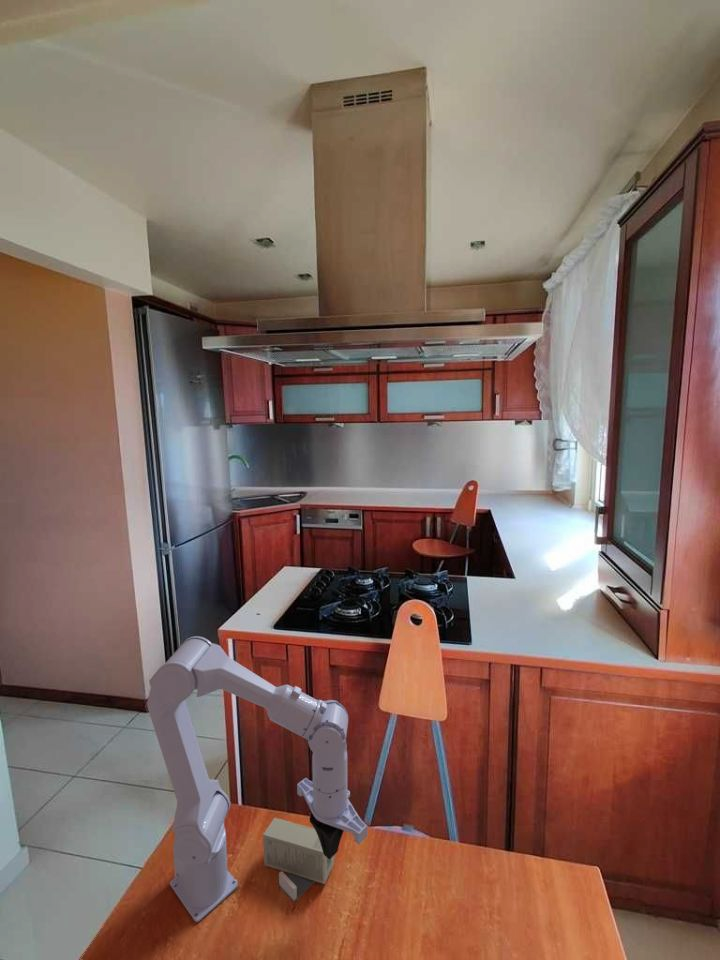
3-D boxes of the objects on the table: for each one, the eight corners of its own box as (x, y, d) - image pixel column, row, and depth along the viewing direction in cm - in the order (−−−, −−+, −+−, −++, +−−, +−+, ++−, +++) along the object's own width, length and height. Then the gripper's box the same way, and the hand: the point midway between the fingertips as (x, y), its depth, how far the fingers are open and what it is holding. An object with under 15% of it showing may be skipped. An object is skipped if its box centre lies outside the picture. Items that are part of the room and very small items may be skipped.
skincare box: (333, 832, 82) (275, 814, 86) (322, 853, 77) (262, 833, 82) (334, 865, 82) (276, 845, 86) (324, 887, 78) (263, 866, 82)
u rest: (279, 886, 79) (278, 873, 78) (319, 848, 86) (319, 836, 86) (294, 902, 76) (293, 889, 76) (334, 861, 83) (334, 849, 83)
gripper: (379, 788, 72) (379, 863, 74) (317, 745, 82) (318, 812, 84) (349, 817, 67) (350, 896, 69) (287, 767, 77) (288, 839, 79)
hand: (330, 852), depth 76 cm, fingers closed
